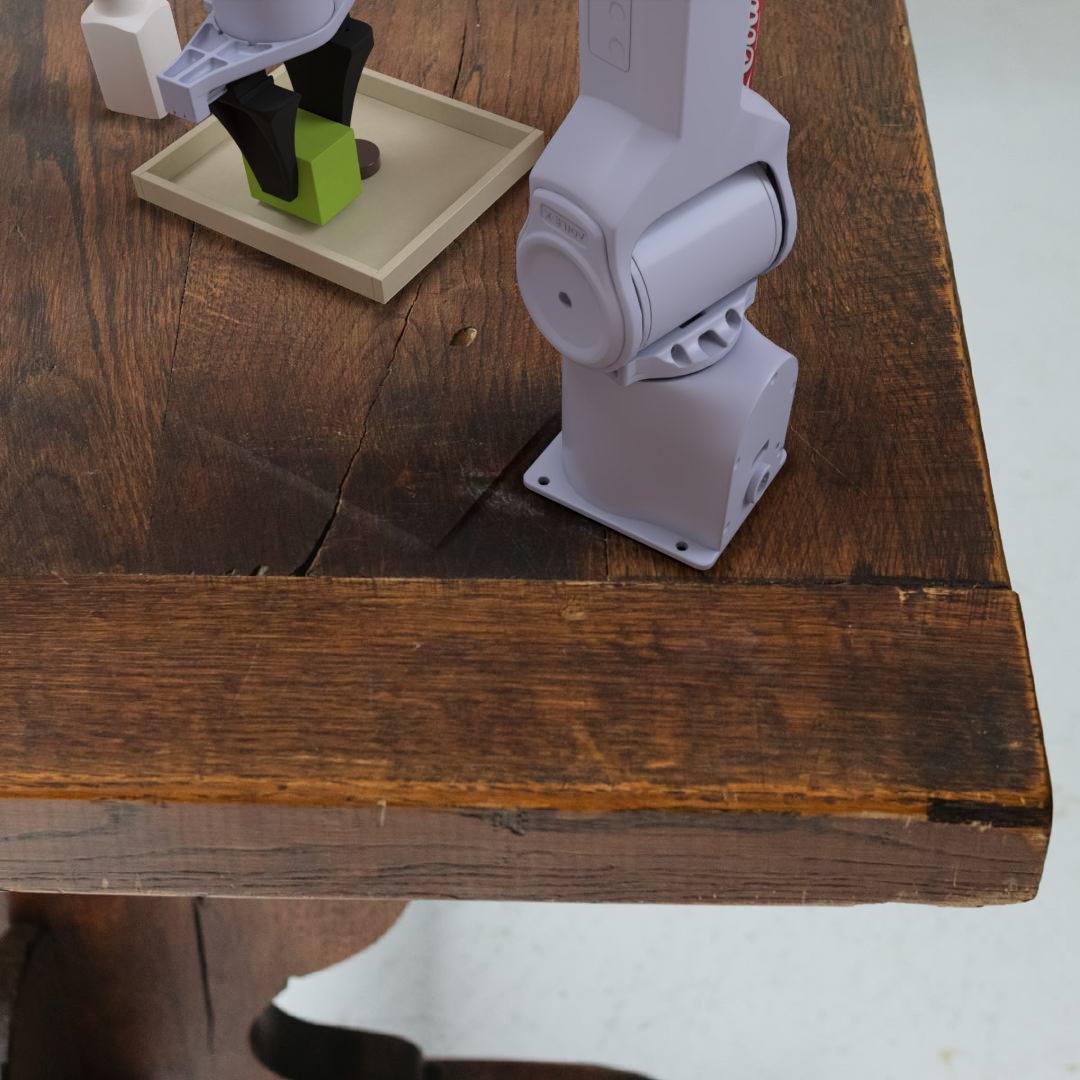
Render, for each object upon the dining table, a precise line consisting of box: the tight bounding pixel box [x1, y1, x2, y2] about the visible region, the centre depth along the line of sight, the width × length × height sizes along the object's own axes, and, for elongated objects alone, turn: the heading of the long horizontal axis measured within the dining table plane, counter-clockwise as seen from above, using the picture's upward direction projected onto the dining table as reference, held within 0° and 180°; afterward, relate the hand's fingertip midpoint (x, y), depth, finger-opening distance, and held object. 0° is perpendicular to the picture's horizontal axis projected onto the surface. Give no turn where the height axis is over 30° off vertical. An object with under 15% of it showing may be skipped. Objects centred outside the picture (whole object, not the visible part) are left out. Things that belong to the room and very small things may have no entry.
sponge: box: [241, 108, 363, 226], centre depth 67 cm, size 5×4×4 cm
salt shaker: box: [80, 0, 183, 120], centre depth 73 cm, size 4×4×10 cm
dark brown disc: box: [355, 139, 381, 180], centre depth 71 cm, size 3×3×1 cm
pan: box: [130, 63, 545, 305], centre depth 70 cm, size 17×15×2 cm
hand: (305, 173), depth 68 cm, fingers closed on sponge, 3 cm apart
